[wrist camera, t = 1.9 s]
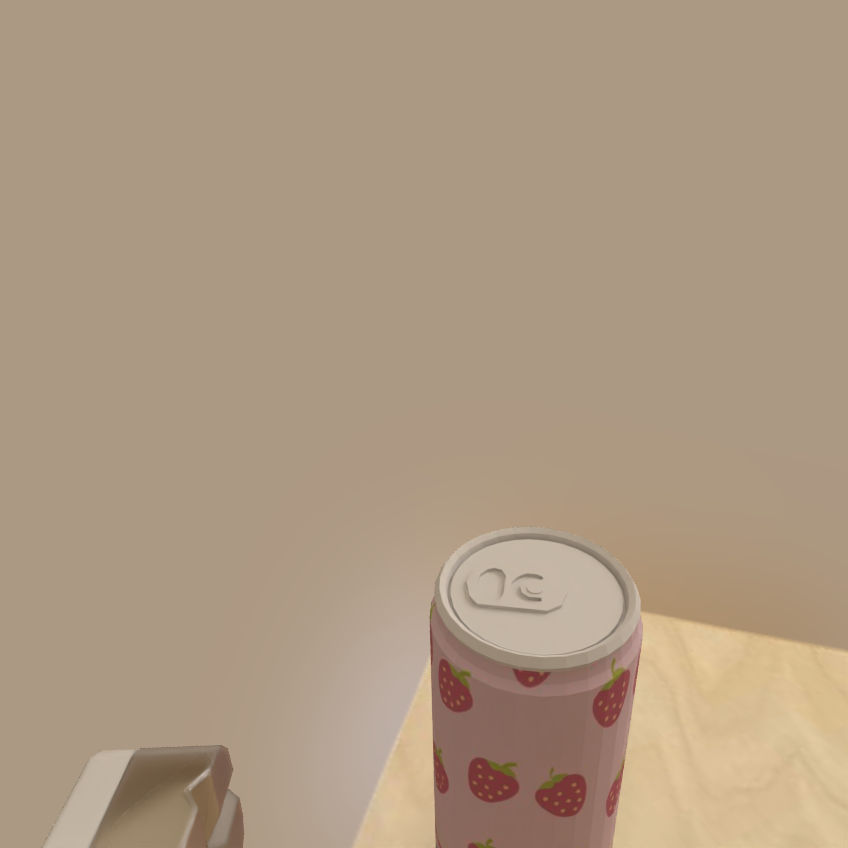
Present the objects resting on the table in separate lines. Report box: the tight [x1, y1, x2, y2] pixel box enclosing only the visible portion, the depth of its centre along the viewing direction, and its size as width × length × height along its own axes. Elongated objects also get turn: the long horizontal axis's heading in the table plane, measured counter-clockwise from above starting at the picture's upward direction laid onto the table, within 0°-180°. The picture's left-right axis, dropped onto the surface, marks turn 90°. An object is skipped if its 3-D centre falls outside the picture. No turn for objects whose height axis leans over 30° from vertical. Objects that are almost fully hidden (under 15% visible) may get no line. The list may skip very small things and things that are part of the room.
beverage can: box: [430, 527, 643, 848], centre depth 23 cm, size 6×6×15 cm
